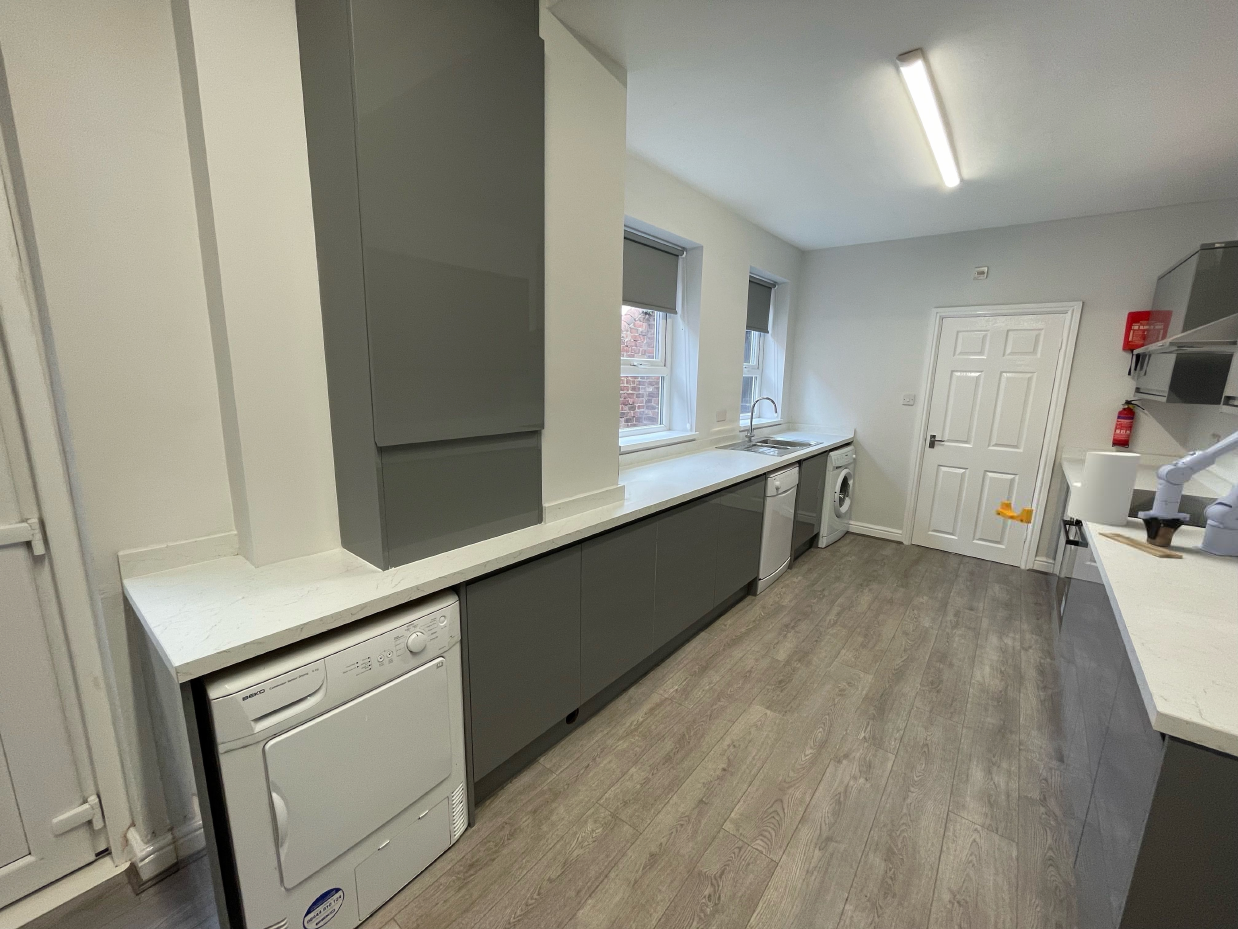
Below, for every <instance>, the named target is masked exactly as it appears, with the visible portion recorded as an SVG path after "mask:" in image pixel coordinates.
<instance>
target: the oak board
mask: <svg viewBox="0 0 1238 929" xmlns="http://www.w3.org/2000/svg"><path fill="white" fill-rule="evenodd" d="M1098 535H1100V536H1102V537H1105V538H1107V539H1110V540H1113V541H1114V542H1115V541H1116V542H1118V543H1120V544H1123V545H1125V546H1128V547H1130V548H1133V549H1136V550H1139V551H1141V552H1143V553H1146V554H1149V555H1152V556H1154V557H1157V558H1169V559H1171V558H1172V559H1183V556H1184V555H1183V554H1180V553H1178V552H1175V551H1171V550H1169V549H1165V548H1163V547H1161V546H1157V545H1154V544H1152V543H1149V542H1146V541H1143V540H1140V539H1135V538H1133V537H1131V536H1128V535H1125V534H1121V533H1115V532H1114V533H1113V532H1111V533H1109V532H1098Z"/></svg>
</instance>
